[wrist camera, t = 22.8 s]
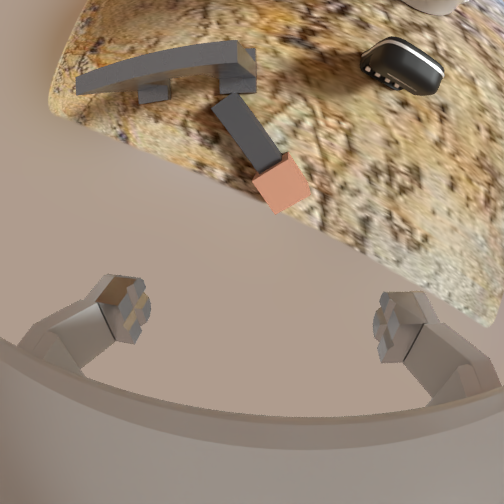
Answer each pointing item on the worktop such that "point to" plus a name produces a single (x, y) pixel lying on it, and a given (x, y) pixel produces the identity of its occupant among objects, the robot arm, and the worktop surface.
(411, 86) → the battery charger
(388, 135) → the worktop surface
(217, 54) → the grey arch stand
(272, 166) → the plug
